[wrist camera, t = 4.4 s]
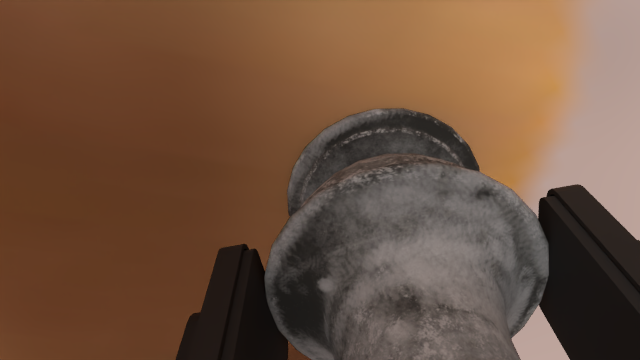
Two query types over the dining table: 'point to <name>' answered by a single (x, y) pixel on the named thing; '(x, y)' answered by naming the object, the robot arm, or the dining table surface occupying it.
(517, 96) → the dining table surface
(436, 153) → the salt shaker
